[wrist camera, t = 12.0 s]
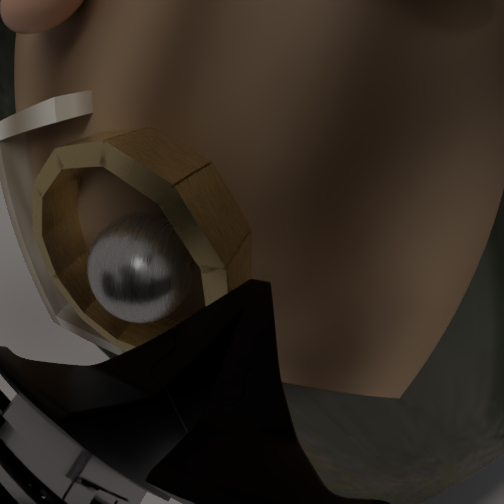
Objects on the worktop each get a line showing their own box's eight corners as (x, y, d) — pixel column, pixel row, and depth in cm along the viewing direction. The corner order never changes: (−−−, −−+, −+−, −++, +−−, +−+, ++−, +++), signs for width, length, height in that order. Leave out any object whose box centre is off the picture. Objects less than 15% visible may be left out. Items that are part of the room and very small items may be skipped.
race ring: (251, 122, 8) (219, 133, 6) (252, 347, 13) (235, 388, 11) (54, 141, 11) (14, 156, 9) (98, 302, 16) (74, 327, 14)
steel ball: (175, 259, 7) (54, 241, 7) (181, 355, 9) (83, 332, 9) (205, 200, 11) (111, 192, 10) (202, 284, 13) (121, 272, 13)
